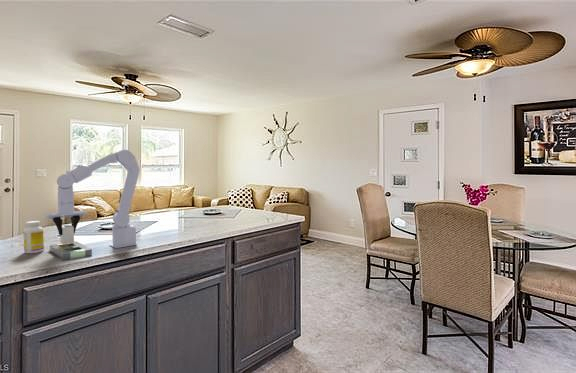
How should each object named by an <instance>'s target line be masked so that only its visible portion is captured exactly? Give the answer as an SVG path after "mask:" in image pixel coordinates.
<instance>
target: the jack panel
mask: <svg viewBox="0 0 576 373" xmlns="http://www.w3.org/2000/svg"><path fill="white" fill-rule="evenodd" d="M92 250H93V249H91V248H90V247H88V246H86V245H85V244H83V243H80V242H79V241H75V240H74V243H68V244H62V243H53V244H49V251H50V252H51V253H53V254H54V255H55V256H57V257H58V258H60V259H61V260H63V261H67V260H72V259H77V258H78V259H79V258H84V257H89V256H92V253H93V251H92Z"/></svg>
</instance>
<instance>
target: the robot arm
mask: <svg viewBox="0 0 576 373" xmlns="http://www.w3.org/2000/svg"><path fill="white" fill-rule="evenodd" d="M114 163H115V164H116V163H117V164H118V163H120V165H122V166H123V167H124V169H125V170H126V171H127V172H126V174H127V175H126V178H125V181H124V185H123V188H122V192H121V196H120V199H119V204H118V206H117V209H116V211H115V212H114V214H113V216H112V221H113V223H114V224H113V225H112V228H111V230H112V243H109V246H110V247H112V248H115V249H118V248H119V249H120V248H124V247H131V246H137V244H138V243H137V230H136V227H135V226H134V225H130V211H131V205H132V201H133V197H134V193H135V189H136V186H137V182H138V178H139V175H140V167H139V165H138V161H137V159H136V156H135V154H133V153H132V152H131V151H130V150H129V149H122V150H119V151H116V152H113V153H110V154H108V155H105V156H103V157H102V158H100V159H98V160H96V161H94V162H93V163H91V164H90V163H89V164H88V165H87V164H78V165H77V166H76V167H75V168H73V169H71V170H66V171H65V173H63V174H61V175H59V176H58V177H57V178H56V183H57V212H52V213H46V214H45V220H50V219H52V222H54V224H55V226H56V229H57V231H58V235H59V236H60V235H62V226H63V219H62V218H70V222H71V223H70V224H71V226H73V227H74V234H76V230H77V227H78V224H79V221H80V220H81V217H85V216H86V217H87V211H86V210H79V211H75V194H74V186H73V185H74V184H78V183H79V182H82V181H84V180H86V179H87V178H89V177H91V176H92V174H93V172H94V171H97V170H99V169H101V168H102V167H105V166H107V165H109V164H114Z"/></svg>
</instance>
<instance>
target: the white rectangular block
mask: <svg viewBox="0 0 576 373" xmlns="http://www.w3.org/2000/svg"><path fill="white" fill-rule="evenodd" d="M74 235H75V233H74V227H73V226H72V224H71V225H70V224H64V225H62V235H59V237H60V239H59V241H60V243H62V244H68V243H74V242H75V236H74ZM60 243H59V244H60Z"/></svg>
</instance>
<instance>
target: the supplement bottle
mask: <svg viewBox="0 0 576 373" xmlns="http://www.w3.org/2000/svg"><path fill="white" fill-rule="evenodd" d="M25 225H26V227H25V228H24V229H23V232H22V233H23V250H24V253H25V254H37V253H41V252H43V251H44V250H45V241H44V240H45V238H44V228H43V227H42V226H40V225H41V220H30V221H26V222H25Z"/></svg>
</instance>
